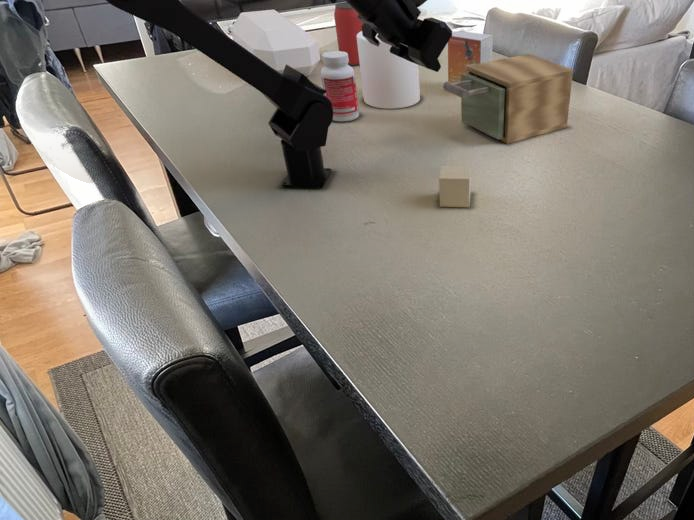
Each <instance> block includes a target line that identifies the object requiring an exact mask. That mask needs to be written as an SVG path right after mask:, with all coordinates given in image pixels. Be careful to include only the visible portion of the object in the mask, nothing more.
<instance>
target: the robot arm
mask: <svg viewBox="0 0 694 520" xmlns="http://www.w3.org/2000/svg"><path fill="white" fill-rule="evenodd" d="M337 1H338V0H325V2H328V3H331V4H336V3H337ZM427 1H428V0H344V2H347V3H348V4H349V5H350V6H351V7H352V8H353V9H354V10H355V11H356V12H357V13H358V14H359V15H358V18H359V19H360V20H361V21H362V22H363V25H362V35H363V36H364V37H365V38H366V39H367V40H368V41H369V42H370V43H371V44H373V45H375V46H379V45H380V42H379V41H378V40H377V39H376V38H375V37H376V35H377V33H378V36H377V37H378V38H379V39H380V40H381V41H382V42H384V43H387V44H389V45H391V48H390V53H392V54H394V55H396V56H399V57H401V58H403V59H405V60H408V61H410V62H412V63H415V64H418V66H420V67H422V68H425V69H427V70H431V71H434V72H436V73H438V72H439V71H440V70H441V69H442V64H441V63H440V60H439V57H441V55H442V52H443V51H444V49H445V48H446V47H447V45H448V41H449V40H450V38H451V36H452V34H453V30H452V29H451V27H450V26H449V25H448V24H447V23H446V22H445V21H443V20H440V19H438V18H434V17H427V18H424V19H420V18H419V17H420V15H421V14H422V11H421V10H420V8H419V7H421V6H422V5H424V3H426V2H427ZM105 2H107V3H108V4H109V5H111V6H112V7H114V8H116V9H119V10H121V11H123V12H124V13H127V14H129V15H131V16H133V17H135V18H137V19H140V20H142V21H145V22H147V23H149V24H151V25H153V26H155V27H156V26H157V27H159V28H160V29H164V30H166V31H167V32H170V33H172V34H173V35H174V36H176V37H178V38H179V39H180V40H182V41H183V42H185V43H186V44H188V45H189V46H191V47H193V48H194V49H196V50H197V51H198V52H201V54H203V55H204V56H206V57H207V58H209V59H211V60H212V61H214V62H215V63H217V64H218V65H219V66H221V67H223V68H224V69H225V70H227V71H229V72H230V73H232V74H233V75H234V76H236V77H237V78H239V79H241V80H242V81H243V82H245V83H247V84H248V85H249V86H251V87H253V88H254V89H256V90H257V91H259V92H260V93H261V94H262V95H263V96H264V97H265V98H266V99H267V100H268V101H269V102H270V103H271V104H272V105H273V106H274V108H276V110H274V112H273V114H272V116H271V117H270V119H269V121H268V126H269V127H270V129H271V131H272V132H273V134H274V135H275V136H277V137H279V138H280V146H281V150H282V154H283V159H284V165H285V167H286V172H287V174H286V176H285V177H284V179H283V181H282V182H281V186H282V188H299V189H300V188H304V189H305V188H306V189H323V188H324V187H325V186H326V184H327V181H328V180H329V178H330V176H331V175H332V168H329V167H325V165H324V160H323V154H322V148H323V147H325V146H326V145H327V140H328V134H329V127H330V126H331V124H332V122H333V120H332V119H333V108H332V106H333V105H332V103H331V101H330V100H329V99H328V98H327V97H326V96H324V93H326V90H325V89H323V87H321V86H319V85H318V84H316V83H314V82H313V81H311V80H310V79H309V78H308V76H305V75H304V74H302V73H300V72H299V71H297V70H295V69H294V68H292V67H290V66H289V65H287V64H286V65H285V68H284V72H283V73H281V72H279V71H277V70H275V69H273V68H272V67H270V66H269V65H267V64H266V63H265V62H263V61H262V60H260V59H259V58H258V57H256V56H255V55H253V54H252V53H251V52H249V51H248V50H246V49H245V48H244V47H242V46H241V45H239V44H238V43H237V42H235V41H234V40H233V38H231V37H229V36H228V35H227V34H225V33H224V32H223V31H221V30H220V29H219V28H217V27H215V26H214V25H213V24H211V23H210V22H209V21H207V20H206V19H204V18H203V17H202V16H200V15H199V14H198V13H196V12H195V11H194V10H192V9H191V8H189V7H188V6H186V5H185V4H184V3H183V2H182V1H180V0H105Z"/></svg>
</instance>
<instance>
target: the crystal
mask: <svg viewBox="0 0 694 520" xmlns="http://www.w3.org/2000/svg"><path fill="white" fill-rule="evenodd" d="M230 34H231V37H232V38H231V39H232V40H234V41H235V42H237V43H238V44H239V45H241V46H242V47H244V48H245V49H246V50H248V51H249V52H251V53H252V54H253V55H255V56H256V57H258V58H259V59H260V60H262V61H263V62H265V63H266V64H267V65H269V66H270V67H272V68H273V69H275V70H277V71H279V72H281V73H283V72H284V68H285V65H286V64H287V65H289V66H290V67H292V68H294V69H295V70H297V71H299V72H300V73H302V74H304V75H305V76H306V77H309V76H310V75H311V74H312V73H313V71H314V69H315V68H316V66H317V65H318V64H319V62H320V61H321V54H320V47H319V41H318V40H316V39H315V38H314V37H313V36H312V35H310V33H308V32H307V31H306V30H304V29H303V28H302V27H301V26H299V25H298V24H297V23H295V22H293V21H292V20H290V19H289V18H288V17H286V16H285V15H283V14H282V13H280V12H278V11H277V10H276V9H265V10H254V11H244V12H240V14H239V15H238V17H237V18H236V20H235V21H234V23H233V24H232V25H231V27H230Z"/></svg>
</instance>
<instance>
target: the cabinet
mask: <svg viewBox="0 0 694 520" xmlns="http://www.w3.org/2000/svg"><path fill="white" fill-rule="evenodd" d="M467 73H468V74H471V75H473V76H474V75H475V74H476V75H479V76H481V77H484V78H486V79H488V80H491V81H493V82H496V83H498V84H500V85H503V86H505V87H507V98H506V123H505V133H504V132H503V138H502V139H499V141H501V142H503V143H505V144H507V145H508V144H512V143H515V142H519V141H523V140H527V139H530V138H534V137H538V136H541V135H544V134H548V133H552V132H556V131H559V130H562V129H566V128H568V121H569V112H570V111H569V110H570V101H571V93H572V84H573V74H574V69H572V68H570V67H567V66H564V65H561V64H559V63H555V62H553V61H550V60H547V59H545V58H542V57H539V56H536V55H532V54H529V53H526V54H521V55H517V56H511V57H506V58H501V59H494V60H492V61H489V62H484V63H479V64H474V65H469V66H467Z"/></svg>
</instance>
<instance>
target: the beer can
mask: <svg viewBox="0 0 694 520" xmlns="http://www.w3.org/2000/svg"><path fill="white" fill-rule="evenodd" d="M334 7H335V8H334V13H333V17H334V24H335V32H336V40H337V47H338V51H342V52H346V53H348V58H349V62H348V65H349V66H360V62H359V54H358V45H357V34H358V33H359V32H361V31H362V25H363V22H362V21H361V20H360V19H359V18H358V15H359V14H358V13H357V12H356V11H355V10H354V9H353V8H352V7H351V6H350V5H349V4H348V3H347V2H346V1H343V2H338V3H337V2H336V3H335V4H334Z"/></svg>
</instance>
